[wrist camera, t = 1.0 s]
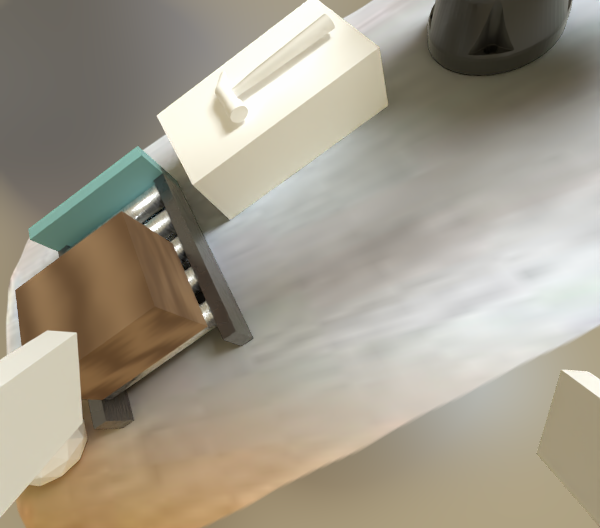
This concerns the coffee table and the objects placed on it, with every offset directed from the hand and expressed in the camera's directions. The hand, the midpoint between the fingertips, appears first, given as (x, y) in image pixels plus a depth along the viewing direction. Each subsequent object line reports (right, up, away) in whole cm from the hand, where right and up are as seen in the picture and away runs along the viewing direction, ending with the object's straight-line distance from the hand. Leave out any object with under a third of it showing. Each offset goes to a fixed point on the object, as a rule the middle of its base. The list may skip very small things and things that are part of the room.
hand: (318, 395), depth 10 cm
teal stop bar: (-26, +10, +44) cm, 52 cm away
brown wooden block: (-19, -2, +30) cm, 36 cm away
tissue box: (-3, +22, +40) cm, 46 cm away
